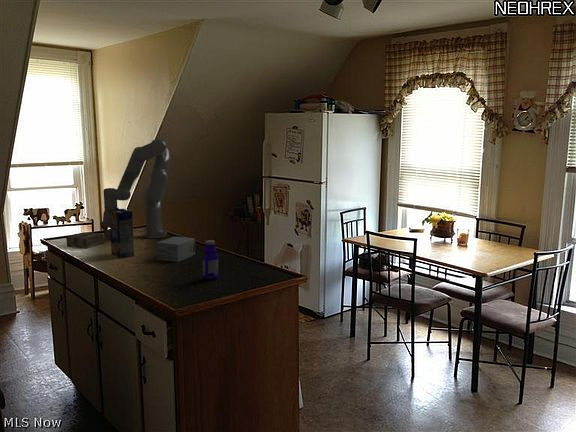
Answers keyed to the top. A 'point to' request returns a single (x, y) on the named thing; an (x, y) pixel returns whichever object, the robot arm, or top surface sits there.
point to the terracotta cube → (108, 235)
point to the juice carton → (121, 233)
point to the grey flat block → (85, 240)
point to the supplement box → (175, 249)
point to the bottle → (210, 261)
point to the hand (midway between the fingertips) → (112, 237)
